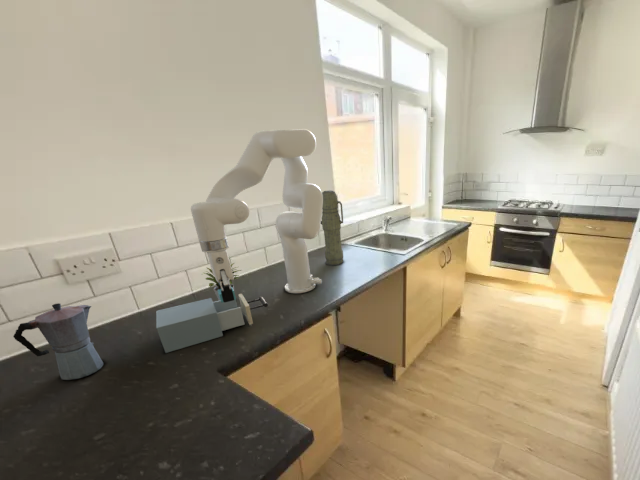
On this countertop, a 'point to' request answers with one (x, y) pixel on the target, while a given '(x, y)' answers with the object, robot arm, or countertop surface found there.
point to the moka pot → (65, 340)
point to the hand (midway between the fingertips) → (227, 297)
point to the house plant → (217, 282)
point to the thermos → (332, 228)
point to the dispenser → (187, 324)
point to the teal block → (221, 295)
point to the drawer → (235, 312)
